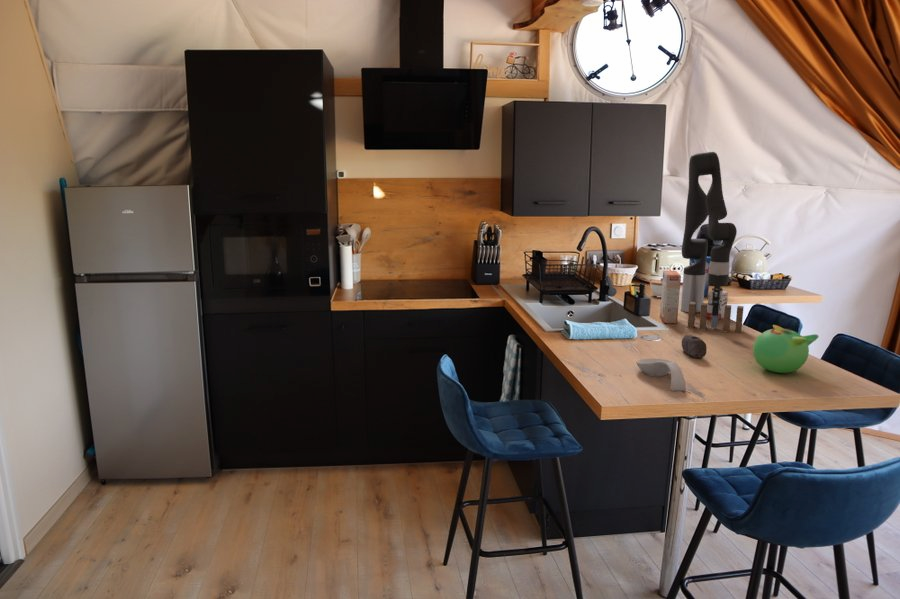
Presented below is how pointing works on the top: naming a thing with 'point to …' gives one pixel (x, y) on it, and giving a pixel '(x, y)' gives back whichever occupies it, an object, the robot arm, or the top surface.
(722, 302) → the ink box
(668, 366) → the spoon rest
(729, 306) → the domino
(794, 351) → the toy bird
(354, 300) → the top surface
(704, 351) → the perforated stone tool
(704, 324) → the domino
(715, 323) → the domino
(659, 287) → the lidded jar
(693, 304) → the domino
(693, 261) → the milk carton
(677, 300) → the cracker box
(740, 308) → the domino
